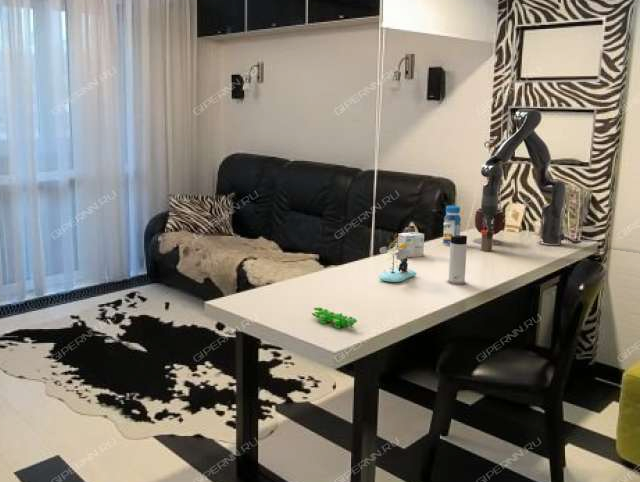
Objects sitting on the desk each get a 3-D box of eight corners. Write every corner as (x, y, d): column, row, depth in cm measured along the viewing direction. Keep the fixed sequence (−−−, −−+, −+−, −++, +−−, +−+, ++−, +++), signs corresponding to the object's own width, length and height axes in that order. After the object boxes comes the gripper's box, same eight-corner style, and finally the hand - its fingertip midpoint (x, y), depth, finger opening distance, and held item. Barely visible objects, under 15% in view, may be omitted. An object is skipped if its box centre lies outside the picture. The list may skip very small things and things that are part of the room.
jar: (487, 248, 305) (488, 230, 303) (494, 250, 300) (495, 232, 298) (478, 249, 303) (479, 231, 301) (485, 251, 298) (487, 233, 296)
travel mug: (457, 285, 243) (460, 237, 240) (445, 281, 249) (447, 234, 245) (468, 283, 246) (471, 235, 243) (456, 279, 252) (458, 232, 248)
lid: (481, 232, 304) (482, 229, 304) (494, 233, 301) (494, 230, 301) (480, 234, 299) (480, 231, 298) (493, 235, 296) (493, 232, 296)
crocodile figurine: (350, 333, 194) (350, 320, 193) (306, 319, 206) (306, 307, 206) (362, 327, 198) (362, 315, 197) (318, 314, 211) (319, 302, 210)
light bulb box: (415, 252, 297) (416, 231, 295) (424, 256, 291) (425, 234, 289) (397, 254, 294) (397, 233, 292) (404, 257, 287) (405, 235, 286)
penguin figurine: (399, 271, 265) (400, 237, 263) (421, 275, 257) (422, 241, 255) (372, 280, 252) (373, 244, 249) (395, 285, 244) (396, 249, 241)
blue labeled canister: (462, 246, 310) (464, 207, 307) (445, 246, 311) (447, 207, 307) (456, 242, 319) (458, 205, 316) (440, 242, 319) (442, 205, 316)
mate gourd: (470, 238, 327) (472, 202, 324) (497, 239, 325) (500, 202, 322) (477, 245, 312) (480, 207, 309) (506, 245, 310) (508, 207, 307)
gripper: (501, 206, 290) (499, 241, 293) (493, 202, 304) (491, 234, 307) (485, 206, 291) (483, 240, 294) (477, 201, 305) (475, 234, 308)
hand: (487, 237), depth 300 cm, fingers closed on lid, 5 cm apart
